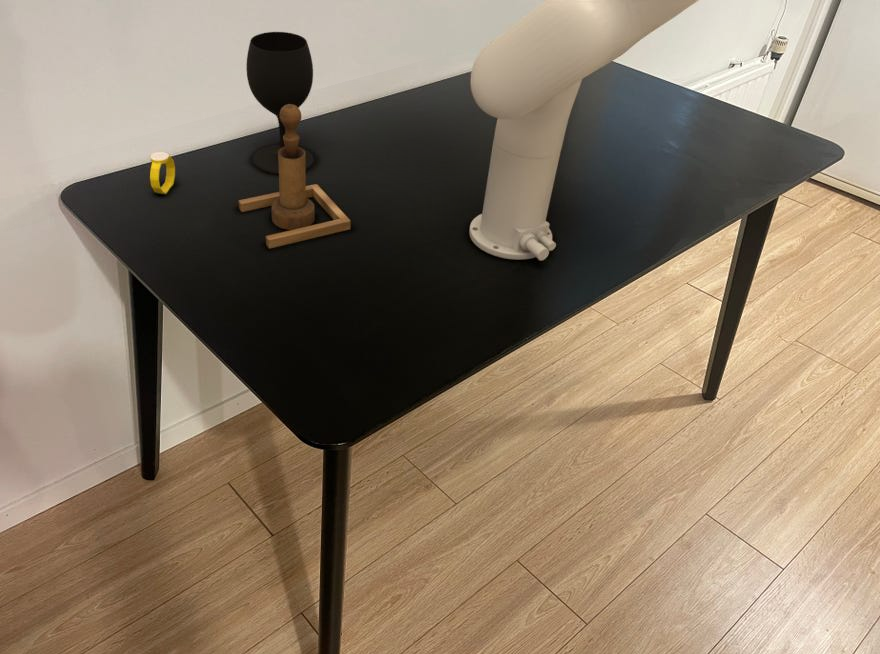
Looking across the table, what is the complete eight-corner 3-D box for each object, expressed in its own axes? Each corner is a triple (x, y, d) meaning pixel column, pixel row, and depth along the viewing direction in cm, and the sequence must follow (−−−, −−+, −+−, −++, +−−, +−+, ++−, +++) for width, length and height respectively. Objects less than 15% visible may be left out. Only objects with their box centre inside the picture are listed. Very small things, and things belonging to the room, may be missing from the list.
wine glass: (288, 141, 138) (284, 25, 125) (326, 163, 133) (326, 44, 120) (240, 157, 133) (230, 38, 119) (277, 181, 127) (272, 59, 114)
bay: (350, 229, 118) (350, 220, 117) (269, 249, 113) (268, 240, 112) (316, 192, 126) (316, 183, 125) (238, 208, 120) (238, 200, 119)
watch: (165, 179, 125) (159, 145, 122) (181, 182, 125) (176, 148, 121) (148, 197, 121) (142, 162, 117) (165, 200, 121) (160, 165, 117)
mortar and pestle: (307, 233, 116) (305, 119, 104) (265, 226, 117) (259, 112, 105) (319, 211, 121) (319, 100, 109) (280, 205, 122) (275, 93, 110)
